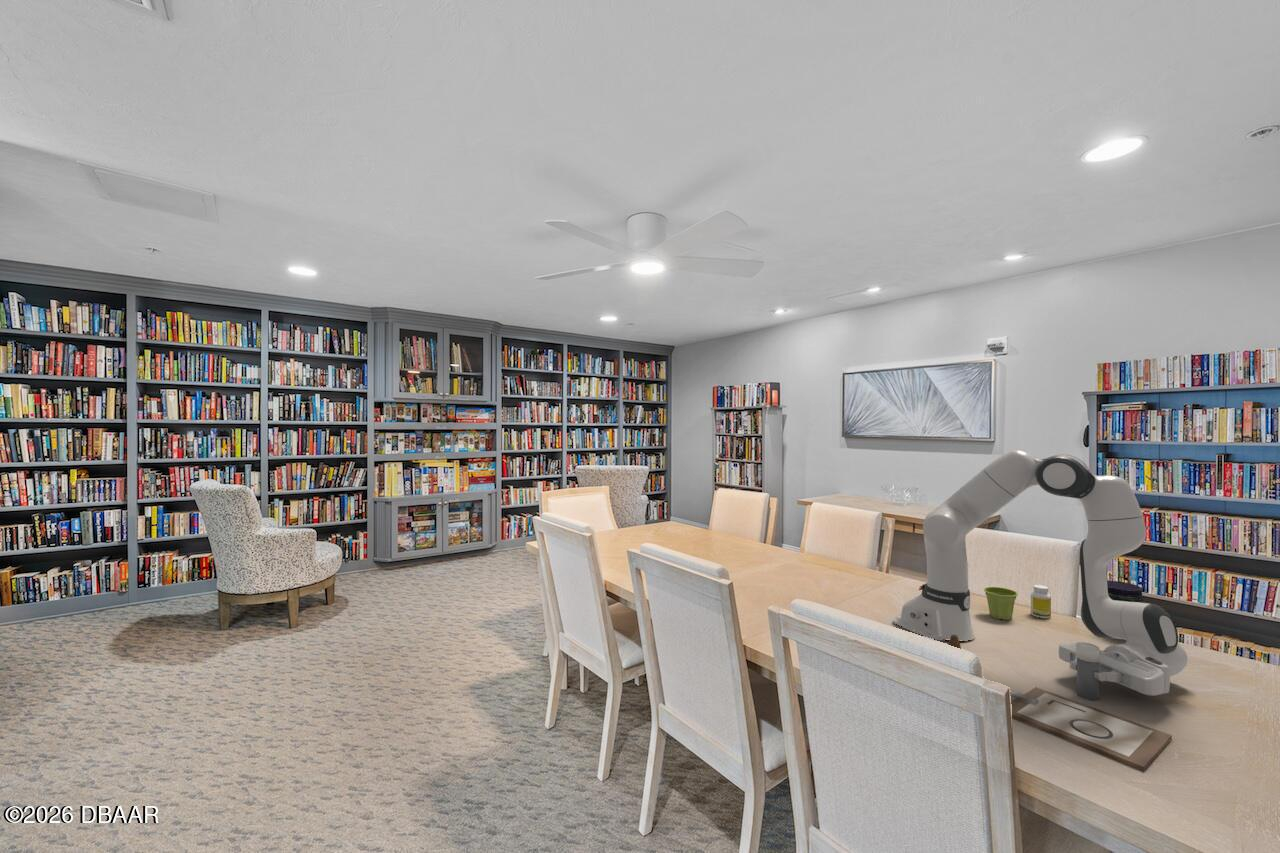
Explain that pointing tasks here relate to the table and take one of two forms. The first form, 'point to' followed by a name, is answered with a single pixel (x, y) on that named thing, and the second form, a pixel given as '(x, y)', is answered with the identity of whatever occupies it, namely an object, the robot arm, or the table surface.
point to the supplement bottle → (1040, 602)
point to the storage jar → (1124, 591)
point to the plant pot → (1000, 602)
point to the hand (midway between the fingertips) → (1084, 671)
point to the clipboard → (1090, 727)
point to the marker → (1087, 670)
